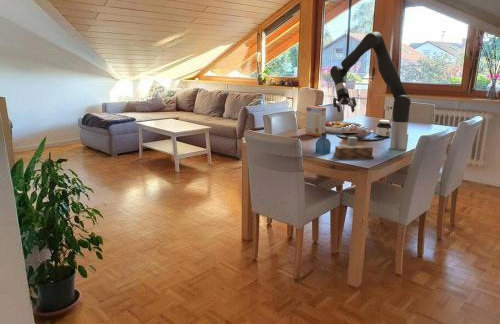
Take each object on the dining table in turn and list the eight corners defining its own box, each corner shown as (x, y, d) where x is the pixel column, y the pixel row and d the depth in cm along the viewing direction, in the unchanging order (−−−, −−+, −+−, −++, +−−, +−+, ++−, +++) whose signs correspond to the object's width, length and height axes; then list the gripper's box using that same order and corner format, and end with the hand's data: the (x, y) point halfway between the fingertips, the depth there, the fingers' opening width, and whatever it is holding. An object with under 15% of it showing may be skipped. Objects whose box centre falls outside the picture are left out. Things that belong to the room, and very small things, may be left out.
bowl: (355, 127, 315) (356, 118, 313) (365, 135, 286) (366, 124, 284) (318, 127, 316) (318, 118, 314) (324, 135, 287) (324, 124, 285)
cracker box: (325, 136, 280) (326, 107, 275) (319, 137, 277) (321, 108, 271) (310, 133, 291) (311, 105, 285) (305, 134, 287) (306, 106, 281)
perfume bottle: (322, 154, 229) (323, 134, 226) (315, 152, 234) (316, 133, 231) (330, 153, 232) (331, 133, 229) (322, 151, 237) (323, 131, 234)
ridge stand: (367, 154, 229) (367, 144, 228) (373, 159, 220) (374, 148, 218) (333, 155, 228) (334, 145, 226) (338, 159, 218) (339, 149, 216)
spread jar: (379, 137, 276) (380, 121, 273) (371, 134, 287) (372, 119, 284) (394, 137, 278) (396, 121, 275) (386, 134, 289) (387, 118, 286)
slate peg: (353, 151, 238) (354, 136, 235) (356, 152, 233) (357, 138, 231) (346, 151, 237) (347, 136, 235) (349, 153, 233) (350, 138, 231)
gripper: (332, 87, 248) (336, 108, 240) (354, 87, 249) (359, 108, 241) (329, 95, 254) (333, 115, 246) (351, 95, 255) (355, 115, 247)
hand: (346, 111), depth 243 cm, fingers open, 8 cm apart
